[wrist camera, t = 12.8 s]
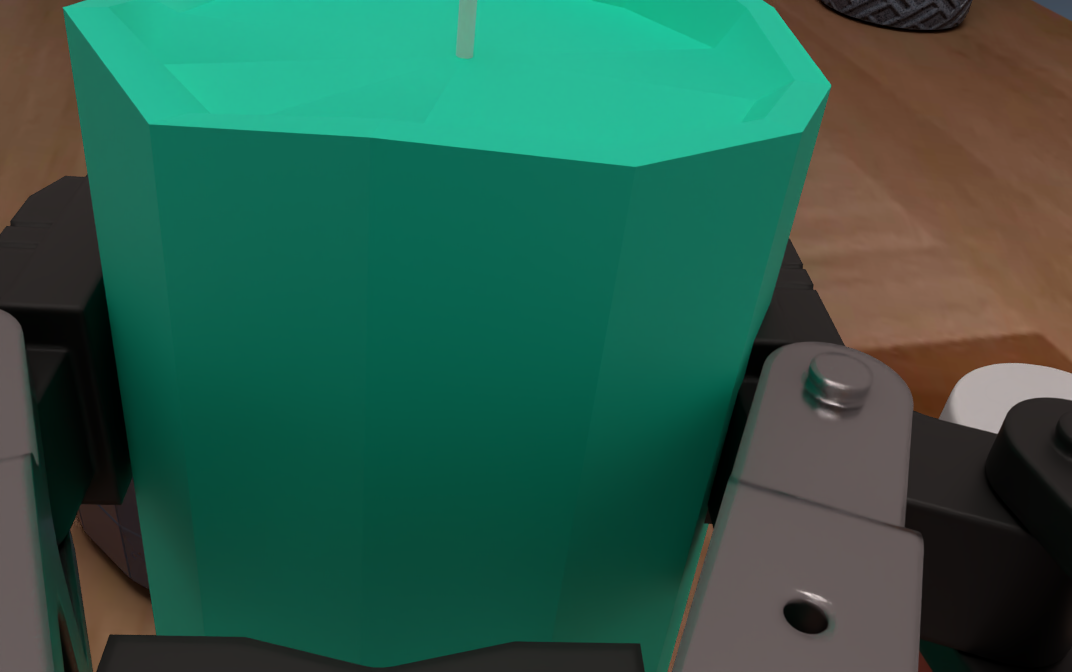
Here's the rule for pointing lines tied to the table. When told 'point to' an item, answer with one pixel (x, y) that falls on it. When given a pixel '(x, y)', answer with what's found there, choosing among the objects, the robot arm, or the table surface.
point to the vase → (905, 12)
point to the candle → (435, 303)
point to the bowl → (118, 534)
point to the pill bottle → (999, 400)
